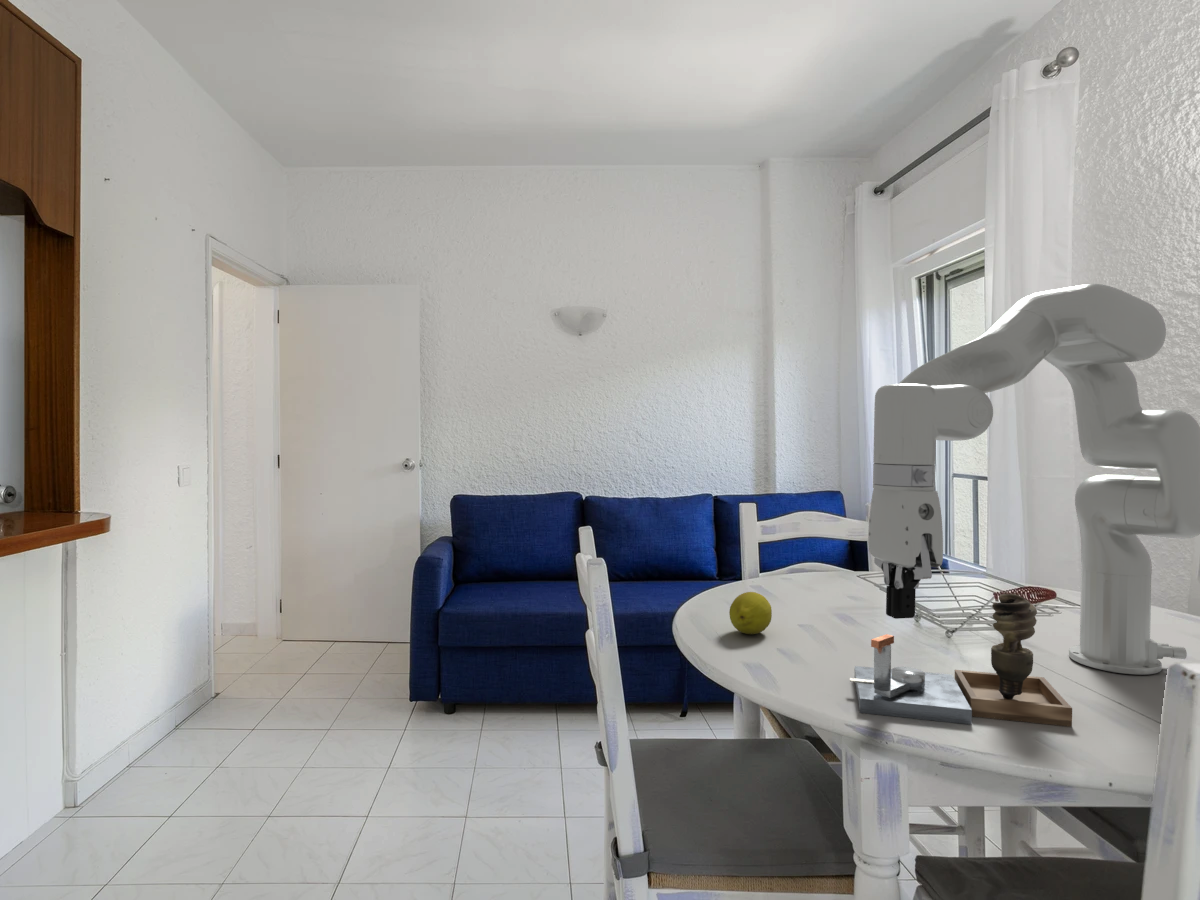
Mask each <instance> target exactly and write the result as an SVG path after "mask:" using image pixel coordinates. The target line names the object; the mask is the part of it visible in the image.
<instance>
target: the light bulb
mask: <svg viewBox="0 0 1200 900" xmlns="http://www.w3.org/2000/svg"><path fill="white" fill-rule="evenodd" d="M998 601H1000V602H997V601H996V602H993V603H992V606H991V607H992V609H993V611H995V612H994V613H992V618H993V620H994V621H995V622H993V624H992V627H993V629H994V630H996V632H998V633H999V634H1001V636H1002V637H1003V641H1002V642H1000V643H997V644H995V645H992V646H991V649H990V660H991V666H992V669H993V671H994V672H995V673H997V675H998V676H999V680H1000V687H999V691H1000V693H1001V694H1002V695H1003V698H1005V699H1013V697H1014V696H1015V695H1021V693H1022V686H1023V681H1024V680H1025V679H1026V678H1027V677H1028V676H1031V673H1032V671H1033V668H1034V667H1033V665H1034V653H1033V651H1032V650H1030V649H1029V648H1026V647H1023V645H1022V641H1025V640H1028V639H1030V638H1032V637H1033V636H1034V635H1035V633H1036V630H1035V626H1036V625H1037V618H1036V616H1037V614H1038V610H1037V608H1036V606H1035V605H1034V604H1032V603H1031V602H1030V601H1029V600H1028V599H1026V598H1025V597H1023V596H1021V595H1018V594H1015V593H1003V594H999V596H998Z"/></svg>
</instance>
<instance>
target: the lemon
mask: <svg viewBox="0 0 1200 900" xmlns="http://www.w3.org/2000/svg"><path fill="white" fill-rule="evenodd" d="M772 612H773V611H772V605H771V603H770V601H769V600H768V599H767V598H766V597H765V596H764V595H762V594H760V593H758V592H756V591H755V592H754V591H746V592H743V593H741V594H739V595H738V596H736V597H735V598H734V599H733V601H732V603H731V604H730V607H729V612H728V613H729V620H730V622H731V624H732V626H733V627H734V628H735V629H736V630H737V631H739V632H740V633H742V634H745V635H757V634H760V633H762V632H763V631H765V630H766V629H767V628H768V627H769V626H770V623H771V621H772V618H773V617H772V615H773V614H772Z"/></svg>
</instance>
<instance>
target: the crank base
mask: <svg viewBox="0 0 1200 900" xmlns="http://www.w3.org/2000/svg"><path fill="white" fill-rule="evenodd" d="M892 669H893V668H891V679H892ZM923 672H924V673H925V687H924V688H923V689H917V690H912V689H909V690H907V691H905V692H902V693H900V694H898V695H896V696H893V697H891V698H889V697H886V696H883V695H880V694H876V693H874V667H870V666H858V665H854V672H853V673H854V678H852V677H849V683H850V682H851V683H854V684H855V690H856V691H855V692H856V698H857V702H858V709H859V713H860V714H868V715H878V716H888V717H897V718H906V719H913V720H916V719H917V720H924V721H925V720H926V721H933V722H944V723H953V724H960V725H961V724H962V725H971V726H972V724H973V722H972V720H973V719H972V718H973V716H972V709H971V707H970V706H969V704H968V702H967V700H966V698H965V697H964V695H963V693H962V691H961V690H960V688H959V686H958V684H957V682H956V681H955V676H954V675H953V674H949V673H939V672H938V673H936V672H926V671H923Z"/></svg>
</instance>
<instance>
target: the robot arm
mask: <svg viewBox="0 0 1200 900" xmlns="http://www.w3.org/2000/svg"><path fill="white" fill-rule="evenodd" d="M1166 337H1167V326H1166V323H1165V319H1164V318H1163V315H1162V314H1161V312H1160V311H1159V310H1158V309H1157V308H1156V307H1155V306H1154V305H1152V304H1151V303H1149V302H1148V301H1145V300H1144V299H1141V298H1139V297H1137V296H1135V295H1133V294H1131V293H1129V292H1126V291H1124V290H1121V289H1119V288H1117V287H1113V286H1110V285H1106V284H1100V283H1086V284H1080V285H1075V286H1068V287H1062V288H1056V289H1049V290H1045V291H1039V292H1034V293H1032V294H1030V295H1026V296H1025V297H1022V298H1021V299H1019V300H1018V301H1016V302H1015V303H1014V304H1013V305H1011V307H1010V308H1009V309H1008V310H1006V311H1005V312H1004V313H1003V314H1002V315H1001V316H1000V317H999V318H998V319H997V320H996V321H994V323H992V324H991V325H990V326H989V327H988V328H987V329H985V331H984V332H983V333H981V334H980V335H979V336H978V337H977V338H975V339H973V340H971V341H969V342H966V343H964V344H961V345H960V346H957V347H956V348H954V349H952V350H950V351H947V352H946V353H944V354H942V355H939V356H937V357H935V358H933V359H931V360H929V361H927V362H925V363H924V364H922V365H920V366H919V367H916V369H914V370H913V371H911V372H910V373H908V374H907V375H906V376H905V377H904V378H903V379H902V380H901V381H900V382H898V383H894V384H893V383H891V384H887V385H886V384H885V385H883V386H880V387H879V388H878V389H877V390H876V392H875V395H874V406H873V407H874V409H873V410H874V414H873V417H874V418H873V419H874V420H873V424H874V425H873V462H872V463H873V464H872V488H873V490H872V494H871V500H870V501H871V502H870V510H869V518H868V538H867V539H868V541H867V542H868V544H867V545H868V551H869V554H870V555H871V556H872V557H873V558H874V560H873V563H874V564H875V565H876V566H877V567H878V568H880V569H881V570H882V572H883V573H882V574H883V582H884V584H885V585H886V589H885V590H886V592H885V593H886V599H885V602H886V603H885V615H886V616H888V617H891V618H893V619H913V618H915V616H916V591H917V589H918V588H919V585H920V581H921V580H930V579H931V578H932V577H933V574H932V568H940V567H941V566H942V564H943V560H944V538H943V537H944V535H943V534H944V533H943V518H942V517H943V516H942V509H941V504H940V502H941V501H940V498H939V492H938V490H935V488H936V487H935V486H936V447H937V445H936V444H937V443H936V441H943V442H944V441H945V442H947V441H948V442H949V441H950V442H951V441H954V442H955V441H959V442H961V441H968V440H972V439H975V438H977V437H979V436H980V435H982V434H983V433H985V432H986V430H987V429H989V427H990V425H991V423H992V421H993V418H994V408H993V406H994V405H993V403H992V401H991V399H990V398H989V396H988V395H987V393H991V392H995V391H998V390H1002V389H1004V388H1007V387H1011V386H1013V385H1015V384H1017V383H1020V382H1021V381H1023V380H1024V379H1025V378H1026V377H1027V376H1028V375H1029V374H1030V373H1031V372H1032V371H1033V370H1034V369H1035V368H1036V367H1037V366H1038V365H1039V364H1040V363H1041V362H1042V361H1043V360H1044V361H1046V362H1047V363H1049V364H1051V365H1052V366H1053V367H1055V368H1056V369H1057V370H1059V372H1061V373H1062V375H1064V377H1065V378H1066V380H1067V381H1068V383H1069V384H1070V387H1071V389H1072V393H1073V399H1074V406H1075V415H1076V421H1077V422H1076V425H1077V432H1078V441H1079V447H1080V452H1081V455H1082V457H1083V459H1084V461H1085V462H1086V463H1088V464H1090V465H1091V466H1093V467H1097V468H1098V467H1099V468H1107V469H1118V470H1119V469H1122V470H1139V471H1140V470H1142V471H1145V470H1146V471H1154V472H1156V474H1157V476H1149V475H1147V476H1146V475H1138V474H1137V475H1136V474H1115V473H1113V474H1111V473H1110V474H1108V473H1107V474H1105V473H1103V474H1097V475H1093V476H1091V477H1090V476H1089V477H1087V478H1086V479H1084V480H1083V481H1082V482H1081V483H1080V484H1079V485H1078V487H1077V488H1076V491H1075V495H1074V505H1075V511H1076V517H1077V522H1078V525H1079V526H1078V527H1079V533H1080V552H1081V553H1080V556H1081V558H1080V563H1081V564H1080V567H1081V568H1080V605H1079V606H1080V609H1079V610H1080V612H1079V614H1080V615H1079V616H1080V617H1079V618H1080V619H1079V620H1080V621H1079V644H1078V645H1073V646H1071V647H1069V649H1068V656H1069V658H1071V660H1073V661H1074V662H1076V663H1078V664H1081V665H1083V666H1086V667H1089V668H1092V669H1096V670H1100V671H1105V672H1110V673H1115V674H1116V673H1117V674H1124V675H1125V674H1126V675H1138V676H1140V675H1143V676H1144V675H1145V676H1147V675H1155V674H1158V673H1160V672H1161V671H1162V670H1163V667H1162V666H1163V664H1162V662H1161V661H1160V660H1163V659H1164V658H1171V659H1176V660H1177V659H1178V660H1179V659H1180V660H1185V659H1187V656H1188V653H1187V649H1186V648H1185V647H1184V646H1176V645H1175V646H1173V645H1169V643H1165V642H1164V643H1162V642H1158V641H1155V640H1153V639H1152V638H1151V614H1152V613H1151V611H1152V610H1151V609H1152V608H1151V607H1152V604H1151V603H1152V573H1153V572H1152V570H1153V569H1152V568H1153V567H1152V559H1151V557H1150V554H1149V552H1148V550H1147V549H1146V547H1145V545H1144V544H1143V542H1142V541H1141V540H1140V538H1139V537H1138V536H1139V535H1141V536H1150V537H1159V538H1166V539H1167V538H1168V539H1184V540H1185V539H1191V538H1195V537H1197V536H1199V535H1200V425H1199V423H1198V421H1197V420H1196V418H1195V417H1194V416H1192V415H1191V414H1190V413H1189V412H1186V411H1184V410H1183V411H1182V410H1178V409H1170V408H1168V409H1166V408H1165V409H1143V408H1142V407H1141V404H1140V398H1139V391H1138V382H1137V379H1136V376H1135V374H1134V373H1133V371H1132V370H1131V368H1130V366H1128V365H1127V363H1135V362H1140V361H1145V360H1149V359H1151V358H1153V357H1154V356H1155V355H1156V354H1157V353H1159V351H1160V350H1162V347H1163V346H1164V343H1165V341H1166Z"/></svg>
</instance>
